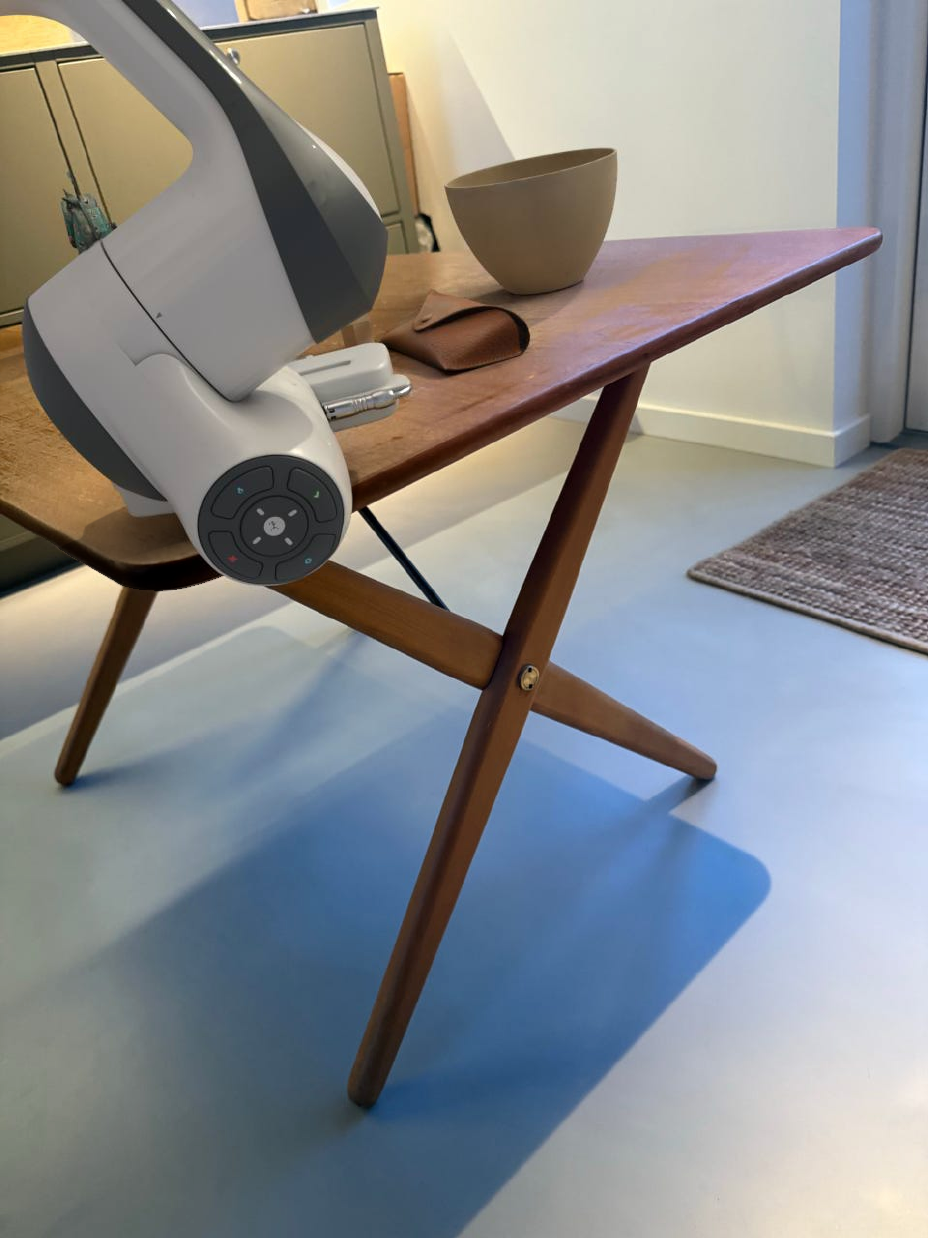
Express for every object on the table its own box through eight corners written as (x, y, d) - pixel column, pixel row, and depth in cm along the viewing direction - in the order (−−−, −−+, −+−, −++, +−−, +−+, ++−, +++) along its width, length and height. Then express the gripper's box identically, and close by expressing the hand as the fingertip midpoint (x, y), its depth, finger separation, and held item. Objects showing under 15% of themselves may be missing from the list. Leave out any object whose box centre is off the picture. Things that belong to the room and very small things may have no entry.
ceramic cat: (98, 323, 144) (45, 175, 135) (142, 311, 146) (93, 164, 136) (110, 344, 127) (50, 176, 118) (160, 331, 129) (105, 165, 120)
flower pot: (441, 296, 114) (419, 183, 108) (578, 258, 119) (565, 147, 113) (506, 317, 99) (485, 187, 93) (661, 272, 104) (650, 145, 98)
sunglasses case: (369, 342, 98) (388, 274, 96) (431, 361, 102) (450, 295, 100) (447, 372, 83) (470, 292, 82) (516, 392, 87) (540, 316, 85)
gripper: (407, 341, 60) (370, 305, 72) (67, 426, 57) (88, 374, 69) (428, 440, 63) (389, 390, 75) (106, 525, 60) (119, 459, 72)
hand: (242, 383), depth 72 cm, fingers closed on medicine box, 8 cm apart
